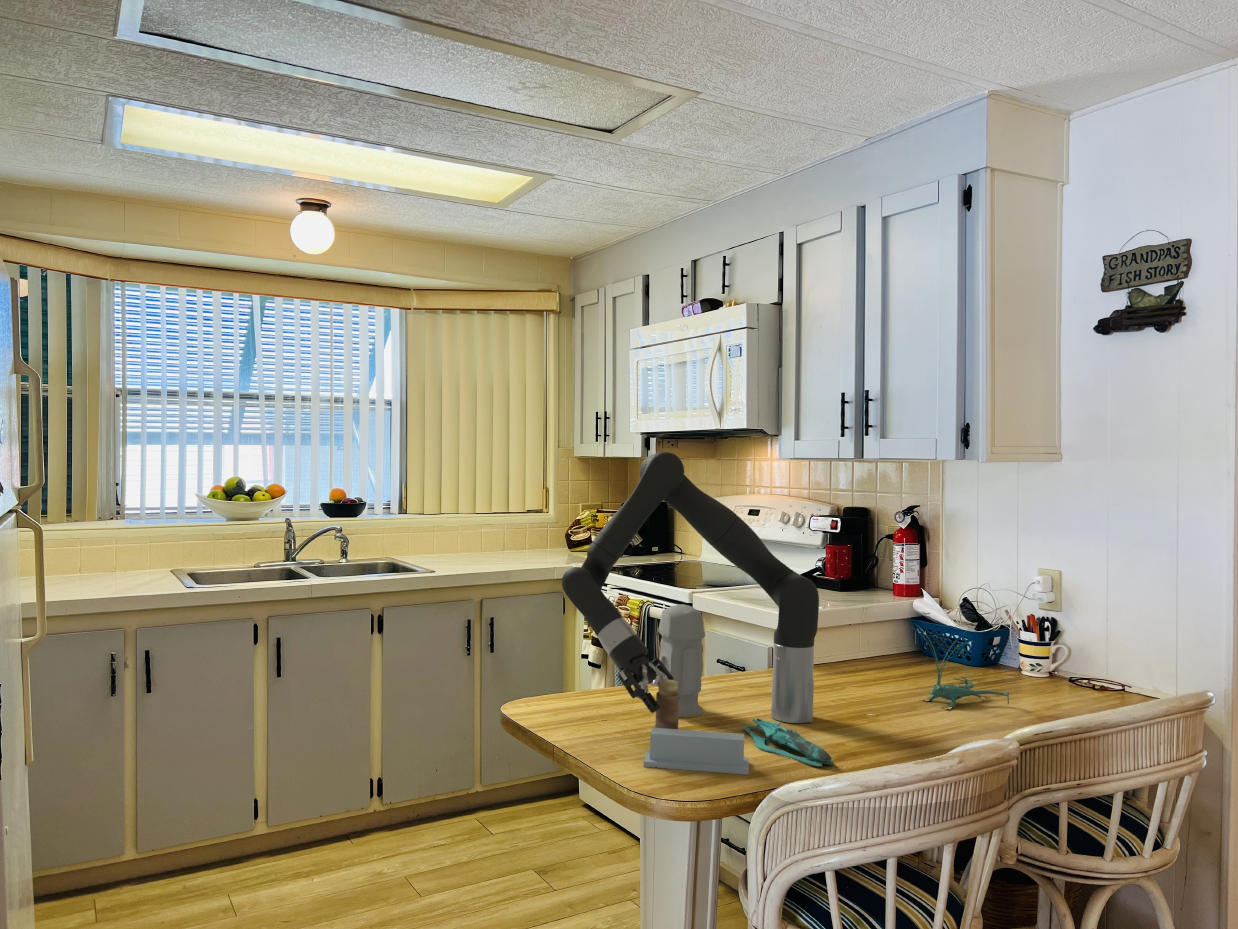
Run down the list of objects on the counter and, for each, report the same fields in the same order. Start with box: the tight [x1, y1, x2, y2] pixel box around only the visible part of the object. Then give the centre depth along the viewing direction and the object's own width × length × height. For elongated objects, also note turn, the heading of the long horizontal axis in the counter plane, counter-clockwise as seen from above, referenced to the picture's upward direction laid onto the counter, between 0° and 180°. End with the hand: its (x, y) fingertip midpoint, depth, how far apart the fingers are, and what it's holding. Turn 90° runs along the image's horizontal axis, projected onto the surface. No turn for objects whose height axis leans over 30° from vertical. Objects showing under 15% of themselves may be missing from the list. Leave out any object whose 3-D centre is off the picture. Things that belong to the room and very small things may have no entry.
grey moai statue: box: [657, 604, 706, 718], centre depth 214 cm, size 15×10×25 cm
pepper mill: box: [654, 680, 680, 729], centre depth 191 cm, size 5×5×12 cm
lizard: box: [912, 623, 1010, 708], centre depth 227 cm, size 23×25×21 cm
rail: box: [643, 727, 750, 776], centre depth 177 cm, size 20×7×6 cm, turn 82°
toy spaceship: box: [743, 717, 835, 767], centre depth 189 cm, size 11×27×5 cm, turn 28°
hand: (666, 706), depth 191 cm, fingers open, 8 cm apart
